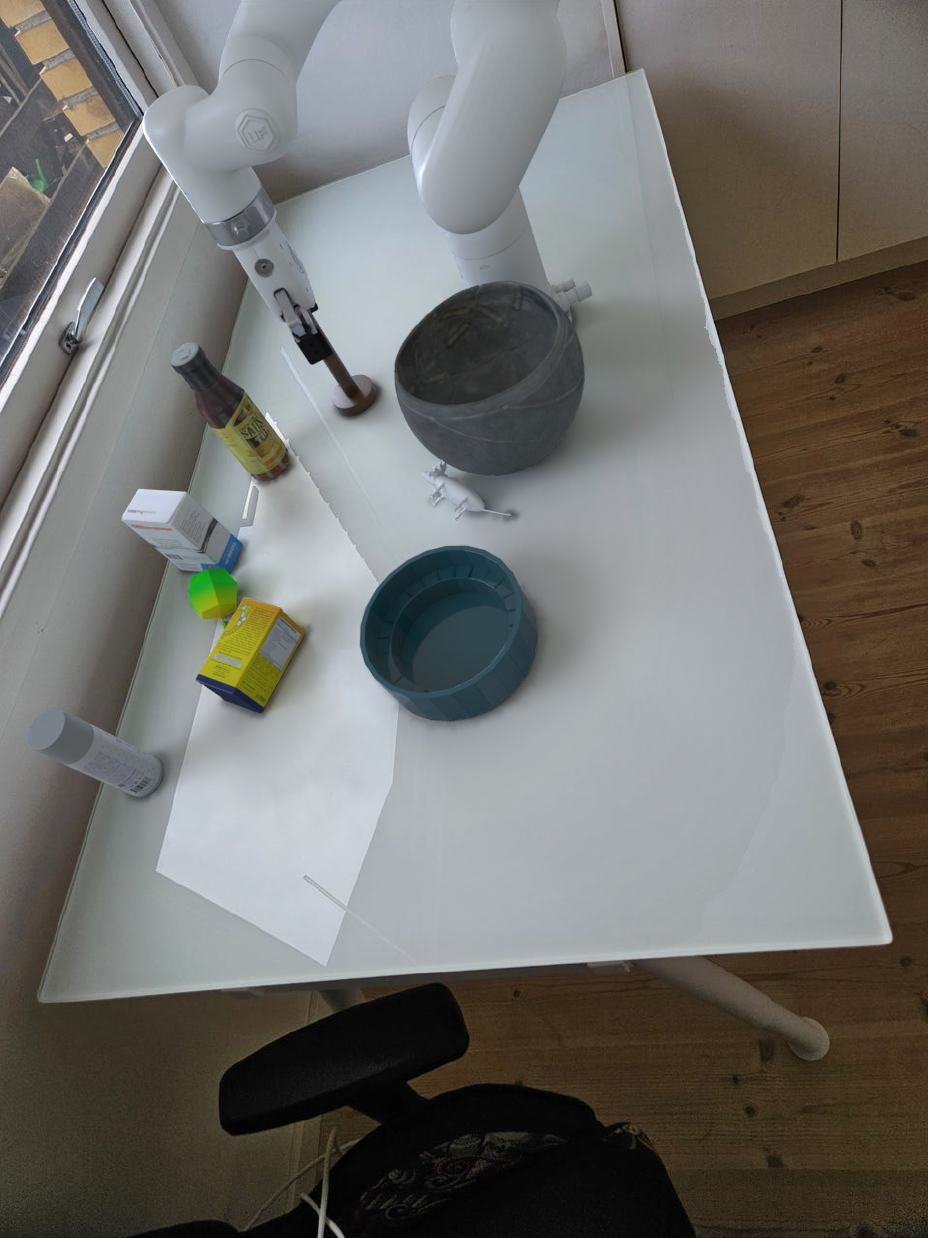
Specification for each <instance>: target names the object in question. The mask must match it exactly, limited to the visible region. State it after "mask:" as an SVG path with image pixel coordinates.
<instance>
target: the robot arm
mask: <svg viewBox="0 0 928 1238" xmlns="http://www.w3.org/2000/svg"><path fill="white" fill-rule="evenodd" d="M343 1H344V0H240V3H239V6H238V8H237V10H236V13H235V16H234V18H233V21H232V24H231V27H230V29H229V32H228V35H227V38H226V41H225V44H224V47H223V48H222V49H223V50H222V53H221V57H220V62H219V70H218V84H217V85H216V87H215V89H214V90H213V92H212V93H211V94H209V93H208V92H207V91H206V90H204V89H203V88H202V87H200V86H198V85H194V84H184V85H180V86H177V87H174V88H172V89H169V90H168V91H166V92H164V93H162V94H161V95H160V96H159V97H158V98H156V99H155V100H154V101H153V102H152V103H151V104H150V105H149V107H148V108H147V109H146V111H145V112H144V115H143V117H142V131H143V135H144V136H145V139H146V141H147V142H148V143H149V145H150V147H151V148H152V150H153V151H154V153H155V154H156V156H157V157H158V159H159V160H160V161H161V163H162V164H163V166H164V167H165V170H167V172H168V174H169V175H170V177H171V178H172V179H173V181H174V182H175V184H176V185H177V187H178V188H179V190H180V191H181V193H182V194H183V196H184V197H185V198H186V200H187V201H188V203H189V204H190V207H192V209H193V210H194V212H195V214H196V215H197V216H198V218H199V219H200V221H201V222H202V224H203V226H204V227H205V229H206V230H207V231H208V233H209V234H210V236H211V237H212V239H213V240H214V241H215V244H217V246H218V247H219V248H220V249H221V250H224V251H232V252H233V253H234V255H235V256H236V258H237V260H238V261H239V263H240V265H241V267H242V269H243V270H244V271H245V273H246V275H247V276H248V278H249V279H250V281H251V282H252V284H253V286H254V287H255V288H256V290H257V292H258V293H259V295H260V296H261V297H262V299H263V301H264V303H265V304H266V305H267V307H268V308H269V310H270V311H271V312H272V314H273V315H274V317H275V318H276V320H278V322H280V323H285V324H286V326H287V328H288V330H289V332H290V334H291V335H292V338H293V341H294V342H295V344H296V346H297V347H298V348H299V350H300V352H301V353H302V355H303V356H304V358H305V359H306V361H307V362H308V364H309V365H311V366H313V365H316V364H318V363H320V362H321V361H323V359H325V358H327V357H329V356H331V355H332V354H333V351H332V349H331V347H330V345H329V344H328V342H327V340H326V339H325V337H324V336H323V334H322V332H321V331H320V329H319V327H318V326H317V327H315V325H314V323H313V322H312V320H311V318H310V316H309V314H308V312H307V310H308V309H310V311H311V313H312V314H313V313H316V312H317V311H318V310H319V305H318V304H317V302H316V298H315V294H314V291H313V288H312V285H311V282H310V279H309V275H308V273H307V270H306V268H305V266H304V263H303V262H302V261H301V259H300V258H299V256H298V254H297V252H296V251H295V250H294V248H293V246H292V244H291V243H290V242H289V240H288V239H287V237H286V236H285V234H284V232H283V230H282V229H281V228H280V226H279V224H278V222H276V219H277V215H278V211H277V208H276V207H275V205H274V203H273V202H272V199H271V198H270V196H269V194H268V192H267V191H266V190H265V187H264V186H263V184H262V182H261V180H260V179H259V177H258V176H257V173H256V172H255V171H254V169H253V167H255V166H260V165H263V164H268V163H271V162H274V161H276V160H279V159H280V158H282V157H284V156H285V155H286V154H288V152H290V150H291V149H292V148H293V146H294V144H295V141H296V139H297V134H298V128H299V122H298V105H297V102H298V101H297V83H298V81H299V77H300V75H301V72H302V70H303V67H304V65H305V63H306V61H307V58H308V56H309V54H310V52H311V49H312V47H313V45H314V43H315V40H316V38H317V37H318V34H319V33H320V30H321V28H322V26H323V25H324V24H325V22H326V20H327V18H328V16H329V15H330V14H331V12H332V11H333V9H335V8H336V6H338V4H340V3H341V2H343ZM560 1H561V0H455V1H454V4H453V8H452V11H451V14H450V27H449V28H450V30H449V31H450V40H451V44H452V49H453V53H454V56H455V61H456V65H457V71H456V74H446V75H442V76H439V77H436V78H434V79H432V80H431V81H429V82H427V83H426V84H425V85H424V86H423V87H422V88H421V89H420V90H419V92H418V93H417V95H416V96H415V98H414V99H413V102H412V103H411V105H410V110H409V113H408V117H407V129H406V130H407V131H406V132H407V144H408V150H409V155H410V160H411V166H412V169H413V173H414V178H415V184H416V187H417V193H418V195H419V200H420V202H421V204H422V207H423V209H424V211H425V212H426V214H427V215H428V216H429V218H430V219H431V220H432V221H433V223H435V224H436V225H437V226H438V227H440V229H442V231H443V234H444V237H445V239H446V241H447V243H448V246H449V248H450V252H451V254H452V256H453V259H454V261H455V263H456V266H457V269H458V271H459V274H460V276H461V278H462V280H463V281H462V282H463V284H464V286H465V289H468V288H470V287H473V286H476V285H479V286H480V285H482V284H486V283H491V282H497V281H515V282H519V283H523V284H527V285H531V286H533V287H536V288H538V289H539V290H541V291H543V292H544V293H546V294H547V295H549V296H550V297H551V298H552V299H553V300H554V301H555V302H556V303H557V304H558V305H559V306H560V307H561V308H562V310H563V311H564V312H565V313H566V315H567V316H568V318H569V319H570V321H571V323H572V324H573V316H572V313H571V306H573V305H575V304H578V303H581V302H582V301H585V300H587V299H589V298H590V297H592V296H593V291H592V287H591V285H590V284H589V282H588V281H587V280H585V281H583V282H581V283H580V284H577V285H576V282H575V281H574V279H573V277H572V276H570V277H568V278H567V279H565V280H562V281H561V282H560V283H557V284H551V283H550V282H549V280H548V277H547V273H546V270H545V266H544V264H543V261H542V258H541V254H540V251H539V248H538V245H537V241H536V239H535V235H534V232H533V229H532V225H531V222H530V219H529V214H528V211H527V208H526V204H525V201H524V197H523V194H522V191H521V187H520V185H521V183H522V181H523V179H524V177H525V175H526V173H527V171H528V168H529V166H530V164H531V162H532V160H533V158H534V156H535V154H536V152H537V149H538V148H539V145H540V143H541V141H542V139H543V136H544V135H545V133H546V130H547V128H548V126H549V124H550V122H551V120H552V118H553V116H554V113H555V111H556V108H557V106H558V104H559V101H560V98H561V95H562V93H563V88H564V84H565V81H566V80H565V79H566V74H567V63H568V54H567V53H568V52H567V51H568V50H567V45H566V39H565V35H564V31H563V29H562V27H561V23H560V21H559V19H558V17H557V11H558V7H559V4H560ZM299 305H300V308H298V309H296V310H295V308H296V307H297V306H299ZM302 314H303V316H304V318H305V320H306V322H307V324H306V323H305V322H303V323H302V322H301V320H300V319H299V317H298V316H300V315H302Z"/></svg>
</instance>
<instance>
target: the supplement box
mask: <svg viewBox="0 0 928 1238" xmlns="http://www.w3.org/2000/svg"><path fill="white" fill-rule="evenodd" d="M228 621H229V623H228V624H227V626H226V628H225V630H224V629H223V632H222V633H221V635H220V636H219V638H218V639H217V642H216V643H215V645H214V647H213V648H212V650H211V652H210V654H209V655H208V657H207V658H206V660H205V661H204V664H203V666H202V667H201V668H200V670H199V672H198V674H196V675H197V676H196V677H195V680H194V681H195V682H197V683H199V684H200V685H202V686H204V687H205V688H207V689H208V690H209V691H211V692H212V693H214V694H215V695H217V696H218V697H219V698H221V699H222V700H223V701H225V702H227V703H230V704H233V705H235V706H237V707H240V708H242V709H243V708H244V709H246V710H249V711H251V712H254V713H256V714H260V715H261V714H262V713H263V711H264V709H265V707H266V706H267V704H268V703H269V701H270V699H271V696H272V695H273V693H274V691H275V689H276V687H277V685H278V684H279V682H280V680H281V678H282V677H283V674H284V673H285V671H286V669H287V667H288V665H289V664H290V662H291V660H292V658H293V657H294V655H295V653H296V651H297V649H298V647H299V645H300V644H301V642H302V640H303V638H304V637H305V636H306V634H307V633H306V630H305V629H304V628H303V627H301V626H300V625H299V624H298V623H297V622H295V620H293V619H292V617H290V616H289V615H288V614H287V613H286V612H285V611H284V610H283V608H282V607H281V606H278V605H274V604H270V603H267V602H263V601H260V600H256V599H253V598H250V597H245V596H243V597H242V599H241V601H240V603H239V605H237V610H236V611H235V612H233V615H232V616H231V618H230V620H228Z"/></svg>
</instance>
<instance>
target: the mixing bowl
mask: <svg viewBox="0 0 928 1238" xmlns="http://www.w3.org/2000/svg"><path fill="white" fill-rule="evenodd" d="M538 641H539V631H538V623H537V617H536V614H535V612H534V610H533V608H532V605H531V603H530V601H529V599H528V597H527V595H526V593H525V592H524V590H523V588H522V587H521V584H520V583H519V580H518V579H517V577H516V575H515V573H514V572H513V571H512V570H511V568H510V567H509V566H508V565H507V564H506V563H505V562H504V560H502V559H501V558H499V557H498V556H496V555H495V554H493V553H491V552H489V551H487V550H486V549H482V548H478V547H474V546H470V545H465V544H464V545H443V546H439V547H437V548H432V549H427V550H425V551H422V552H421V553H418V554H417V555H415V556H414V555H413V556H412V557H410V558H408V559H407V560H405V561H404V562H403V563H401V564H400V565H399V566H397V567H396V568H394V569H393V570H392V571H391V572H389V574H388V575H387V576H386V577H385V578H384V579H383V580H382V581H381V583H380V584H379V585H378V586H377V587H376V588H375V590H374V592H373V594H372V595H371V597H370V599H369V601H368V603H367V604H366V606H365V609H364V612H363V615H362V619H361V622H360V626H359V648H360V652H361V655H362V659H363V663H364V665H365V667H366V668H367V669H368V671H369V673H370V674H371V676H372V678H373V679H374V680H375V681H376V682H377V683H378V684H380V686H381V687H382V688H383V689H384V690H385V691H387V693H389V694H390V696H391V697H393V699H395V701H396V702H397V703H399V704H400V705H401V706H403V707H404V708H405V709H406V710H408V712H410V713H412V714H413V715H416V716H419V717H422V718H425V719H426V720H429V721H435V722H447V723H448V722H449V723H450V722H456V721H461V720H467V719H472V718H476V717H477V716H480V715H481V714H484V713H485V712H486V713H487V712H488V711H490V710H492V709H494V708H496V707H497V706H498V705H500V704H501V703H502V702H503V701H505V700H506V699H508V697H509V696H511V695H512V694H513V693H514V692H515V690H516V689H517V688H518V687H519V685H520V684H521V683H522V682H523V681H524V679H526V677H527V675H528V672H529V670H530V669H531V666H532V664H533V662H534V661H535V660H534V659H535V658H536V657H535V656H536V653H537V652H536V651H537V646H538Z"/></svg>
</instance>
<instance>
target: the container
mask: <svg viewBox="0 0 928 1238" xmlns="http://www.w3.org/2000/svg"><path fill="white" fill-rule="evenodd" d="M27 744H28V746H29V748H31V749H32V750H34V751H36V752H38V753H40V754H42V755H43V756H46V757H48V758H50V759H52V760H54V761H56V762H58V763H60V764H61V765H65V766H66V767H68V768H70V769H73V770H75V771H77V772H79V773H81V774H84V775H86V776H88V777H90V778H93V779H95V780H96V781H99V782H101V783H104V784H106V785H108V786H111V787H113V788H115V789H117V790H120V791H122V792H124V793H126V794H129V795H131V796H133V797H136V798H144V797H147V796H149V795H151V794H152V793H154V792H155V790H157V788H158V787H159V785H160V784H161V782H162V780H163V776H164V765H163V763H162V761H161V760H160V759H158V758H157V757H155V756H153V755H151V754H150V753H148V752H145V751H143V750H142V749H140V748H138V747H136V746H134V745H133V744H130V743H129V742H127V741H124V740H123V739H120V738H119V737H117V736H115V735H113V734H111V733H109V732H108V731H105V730H103V729H101V728H100V727H98V726H96V725H93V724H92V723H89V722H87V721H85V720H83V719H81V718H79V717H77V716H75V715H73V714H71V713H69V712H67V711H64V710H63V709H61V708H57V707H51V708H48V709H45V710H43V711H42V712H41V713H40V714H38V716H37V717H35V719H34V720H33V722H32V723H31V725H30V727H29V729H28V732H27Z"/></svg>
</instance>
